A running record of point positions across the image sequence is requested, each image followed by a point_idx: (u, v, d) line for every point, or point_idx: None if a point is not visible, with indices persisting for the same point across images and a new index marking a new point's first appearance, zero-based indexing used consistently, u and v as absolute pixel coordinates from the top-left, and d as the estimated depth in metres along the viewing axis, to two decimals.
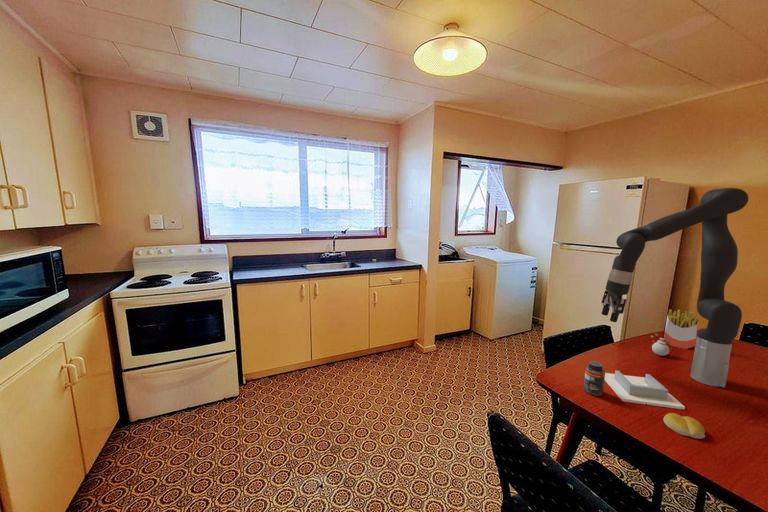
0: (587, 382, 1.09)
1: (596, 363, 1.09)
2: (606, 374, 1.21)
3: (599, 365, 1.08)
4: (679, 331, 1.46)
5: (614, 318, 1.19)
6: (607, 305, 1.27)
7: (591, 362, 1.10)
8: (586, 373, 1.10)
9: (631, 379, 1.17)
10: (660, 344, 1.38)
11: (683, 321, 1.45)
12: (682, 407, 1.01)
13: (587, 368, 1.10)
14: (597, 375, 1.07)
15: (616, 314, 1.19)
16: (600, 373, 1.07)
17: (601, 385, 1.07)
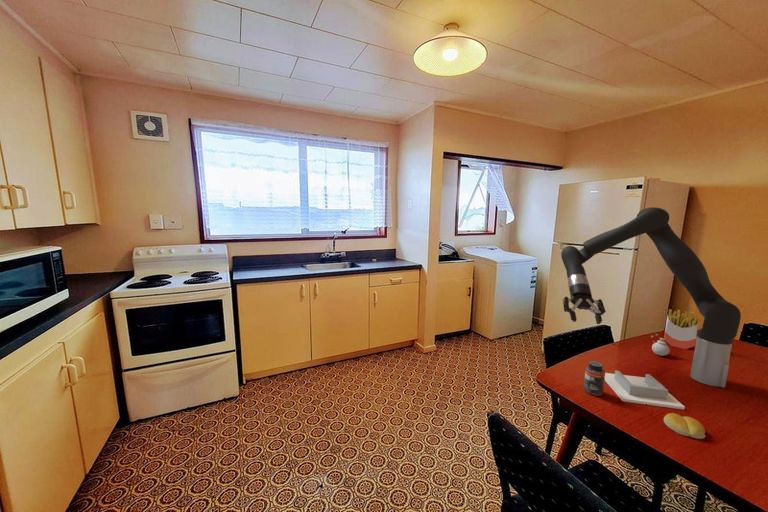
0: (587, 382, 1.09)
1: (596, 363, 1.09)
2: (606, 374, 1.21)
3: (599, 365, 1.08)
4: (679, 331, 1.46)
5: (571, 317, 1.21)
6: (596, 313, 1.20)
7: (591, 362, 1.10)
8: (586, 373, 1.10)
9: (631, 379, 1.17)
10: (660, 344, 1.38)
11: (683, 321, 1.45)
12: (682, 407, 1.01)
13: (587, 368, 1.10)
14: (597, 375, 1.07)
15: (570, 313, 1.22)
16: (600, 373, 1.07)
17: (601, 385, 1.07)
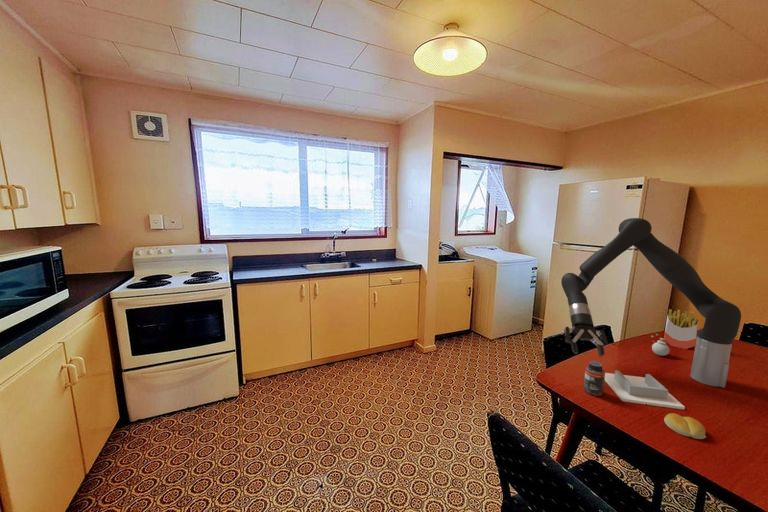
0: (587, 382, 1.09)
1: (596, 363, 1.09)
2: (606, 374, 1.21)
3: (599, 365, 1.08)
4: (679, 331, 1.46)
5: (572, 349, 1.18)
6: (598, 344, 1.17)
7: (591, 362, 1.10)
8: (586, 373, 1.10)
9: (631, 379, 1.17)
10: (660, 344, 1.38)
11: (683, 321, 1.45)
12: (682, 407, 1.01)
13: (587, 368, 1.10)
14: (597, 375, 1.07)
15: (571, 344, 1.18)
16: (600, 373, 1.07)
17: (601, 385, 1.07)
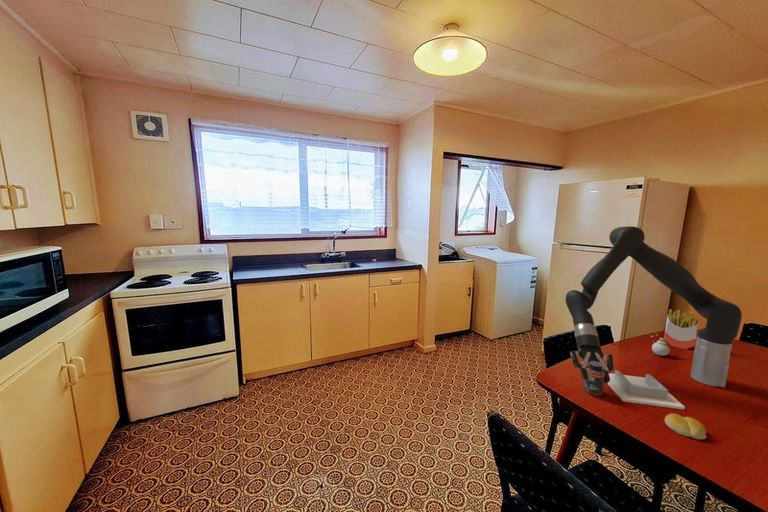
0: (587, 382, 1.09)
1: (596, 363, 1.09)
2: None
3: (599, 365, 1.08)
4: (679, 331, 1.46)
5: (582, 375, 1.10)
6: (603, 369, 1.10)
7: (591, 362, 1.10)
8: None
9: (631, 379, 1.17)
10: (660, 344, 1.38)
11: (683, 321, 1.45)
12: (682, 407, 1.01)
13: (587, 368, 1.10)
14: (597, 375, 1.07)
15: (581, 370, 1.11)
16: (600, 373, 1.07)
17: (601, 385, 1.07)
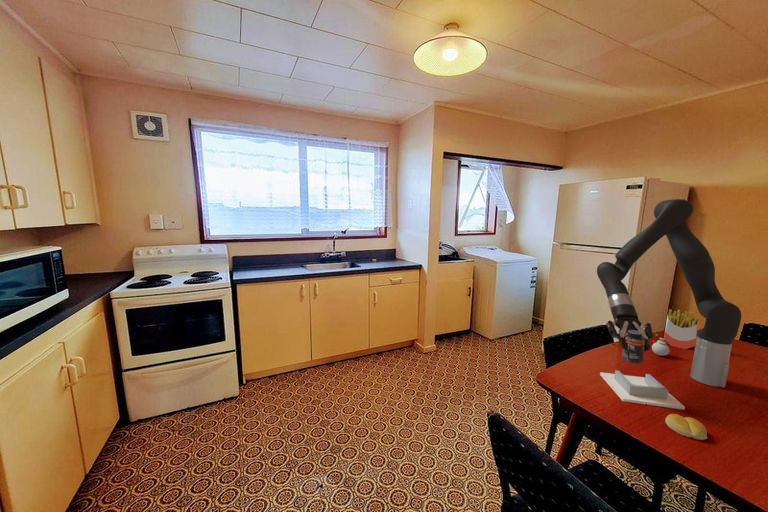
0: (627, 351, 1.08)
1: (635, 331, 1.08)
2: (606, 374, 1.21)
3: (639, 333, 1.06)
4: (679, 331, 1.46)
5: (621, 344, 1.09)
6: None
7: (630, 331, 1.08)
8: None
9: (631, 379, 1.17)
10: (660, 344, 1.38)
11: (683, 321, 1.45)
12: (682, 407, 1.01)
13: (626, 337, 1.09)
14: (637, 343, 1.05)
15: (619, 339, 1.10)
16: (640, 340, 1.05)
17: (642, 353, 1.06)
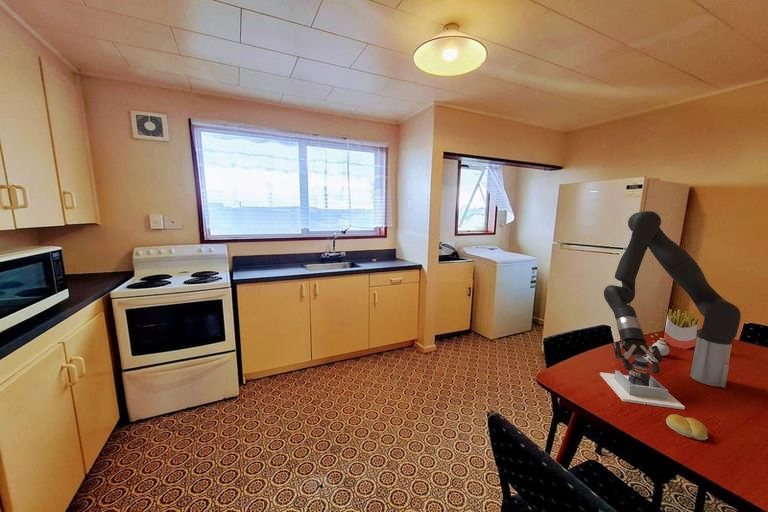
0: (633, 378, 1.10)
1: (641, 359, 1.10)
2: (606, 374, 1.21)
3: (645, 361, 1.09)
4: (679, 331, 1.46)
5: (624, 365, 1.12)
6: (652, 361, 1.11)
7: (636, 358, 1.11)
8: None
9: None
10: (660, 344, 1.38)
11: (683, 321, 1.45)
12: (682, 407, 1.01)
13: (632, 364, 1.11)
14: (643, 370, 1.08)
15: (623, 360, 1.12)
16: (646, 368, 1.08)
17: (647, 381, 1.08)
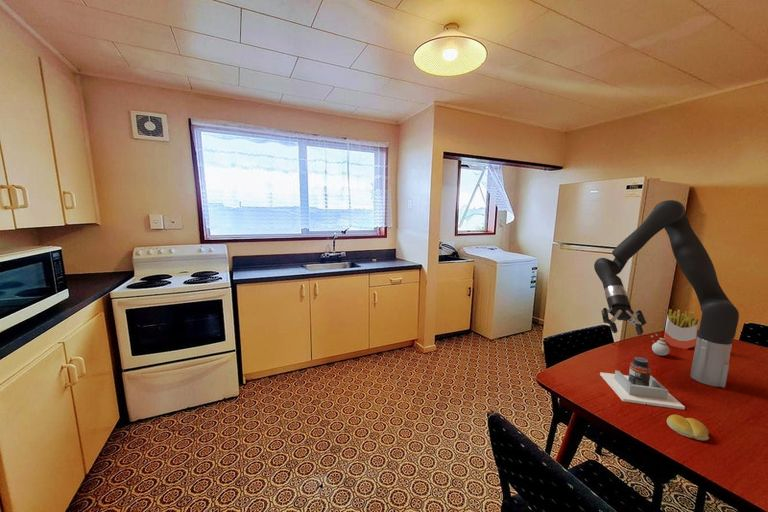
0: (633, 378, 1.10)
1: (641, 359, 1.10)
2: (606, 374, 1.21)
3: (645, 361, 1.09)
4: (679, 331, 1.46)
5: (611, 328, 1.22)
6: (636, 324, 1.21)
7: (636, 358, 1.11)
8: (631, 369, 1.11)
9: None
10: (660, 344, 1.38)
11: (683, 321, 1.45)
12: (682, 407, 1.01)
13: (632, 364, 1.11)
14: (643, 370, 1.08)
15: (610, 324, 1.23)
16: (647, 368, 1.08)
17: (647, 381, 1.08)
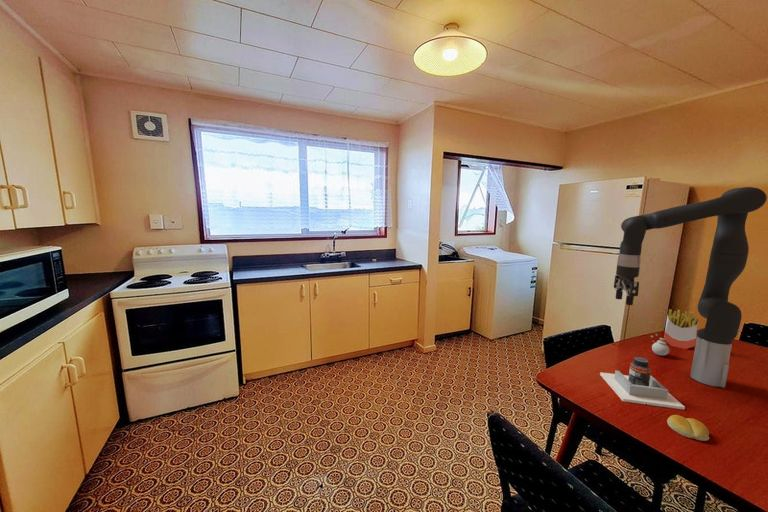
0: (633, 378, 1.10)
1: (641, 359, 1.10)
2: (606, 374, 1.21)
3: (645, 361, 1.09)
4: (679, 331, 1.46)
5: (630, 301, 1.23)
6: (620, 289, 1.31)
7: (636, 358, 1.11)
8: (631, 369, 1.11)
9: None
10: (660, 344, 1.38)
11: (683, 321, 1.45)
12: (682, 407, 1.01)
13: (632, 364, 1.11)
14: (643, 370, 1.08)
15: (631, 297, 1.22)
16: (647, 368, 1.08)
17: (647, 381, 1.08)
